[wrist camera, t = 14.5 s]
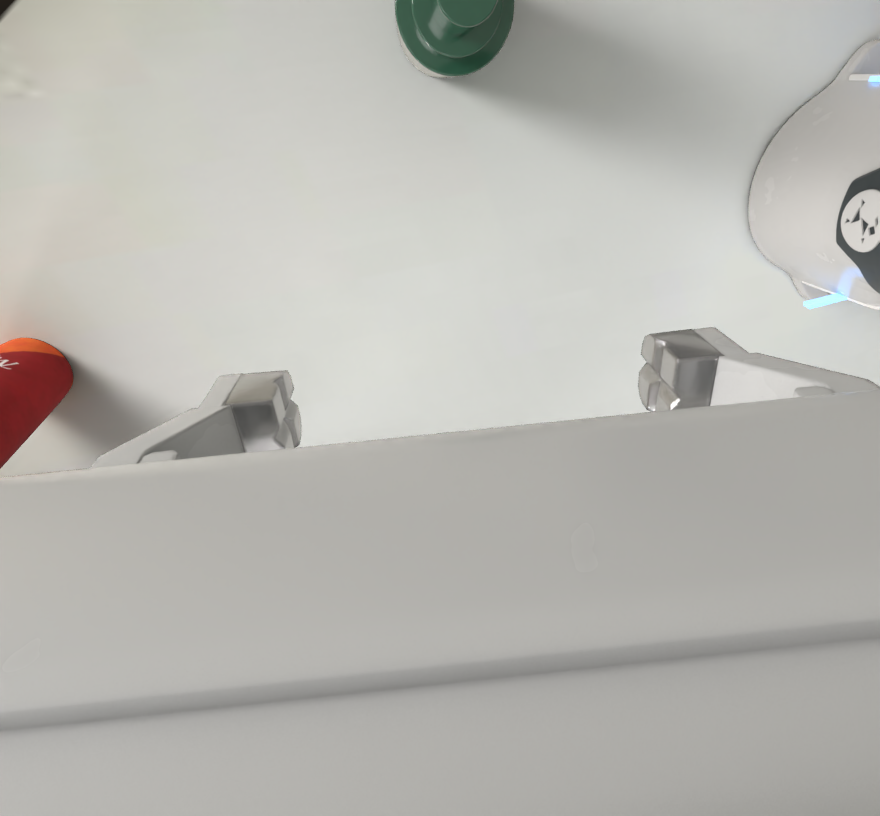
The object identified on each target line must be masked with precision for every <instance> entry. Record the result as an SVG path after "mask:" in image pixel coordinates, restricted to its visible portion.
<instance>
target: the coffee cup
mask: <svg viewBox="0 0 880 816" xmlns="http://www.w3.org/2000/svg"><path fill="white" fill-rule="evenodd" d="M72 384H73V372H72V369H71V366H70V364H69V362H68V361H67V359H66V358H65V357H64V356H63V355H62V354H61V353H60V352H59V351H58V350H57V349H55V348H54V347H53V346H51V345H49V344H47V343H45V342H43V341H40V340H37V339H32V338H17V339H14V340H11V341H8V342H6V343H4V344H2V345H0V468H1V467H2V466H3V465H4V464H5V463H6V462H7V461H8V460H9V458H10V457H11V456H12V455H13V454H14V453H15V452H16V451H17V450H18V449H19V447H20V446H21V445H22V444H23V443H24V442H25V441H26V440H27V439H28V437H29V436H30V435H31V434H32V433H33V432H34V431H35V430H36V429H37V427H38V426H39V425H40V424H41V423H42V422H43V421H44V420H45V419H46V417H47V416H48V415H49V414H50V413H51V412H52V411H53V410H54V408H55V407H56V406H57V405H58V404H59V403H60V401H61V400H62V399H63V398H64V397H65V395H66V394H67V393H68V392H69V390H70V388H71V386H72Z"/></svg>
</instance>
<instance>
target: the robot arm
mask: <svg viewBox="0 0 880 816" xmlns="http://www.w3.org/2000/svg"><path fill="white" fill-rule="evenodd" d="M748 218H749V226H750V230H751V234H752V237H753V239H754V242H755V244H756V245H757V247H758V249H759V250H760V252H761V253H762V254H763V255H764V257H765V258H766V259H768V260H769V261H770V262H771V263H772V264H774V265H775V266H777V267H779V268H780V269H782V270H783V271H785V272H786V273H788V274H789V275H790V276H791V278H792V280H793V283H794V285H795V287H796V289H797V290H798V292H799V293H800V295H801V296H802V297H803V298H805V299H808V300H809V301H805V302H804V306H805V307H807V308H809V309H812V308H816V307H820V306H823V305H827V304H831V303H835V302H839V301H843V300H849V301H852V302H855V303H858V304H861V305H863V306H866V307H869V308H872V309H880V40H871V41H868V42H866V43H865V44H863V45H862V46H861V47H860V48H859V49H858V50H857V51H856V52H855V53H854V54H853V56H852V57H851V58H850V59H849V61H848V62H847V63H846V65H845V66H844V67H843V69H842V70H841V71H840V73H839V74H838V76H837V77H836V78H835V80H834V81H833V82H832V83H831V84H830V85H829V86H828V87H827V88H825V89H824V90H823V91H822V92H820V93H819V94H818V95H816V96H815V97H814V98H812V99H811V100H810V101H808V102H807V103H806V104H805V105H803V106H802V107H801V108H800V109H799V110H798V111H797V112H796V113H794V114H793V115H792V116H791V117H790V118H789V120H788V121H787V122H786V123H785V124H784V125H783V126H782V127H781V129H780V130H779V131H778V132H777V134H776V135H775V136H774V138H773V139H772V141H771V142H770V144H769V146H768V147H767V149H766V150H765V152H764V154H763V156H762V158H761V160H760V162H759V164H758V167H757V169H756V172H755V175H754V178H753V181H752V185H751V189H750V194H749V202H748ZM641 355H642V356H643V358H644V359H645V361H646V362H647V363H646V364H645V365H644V367H643V368H642V369H641V370H640V372H639V380H638V388H639V395H640V398H641V401H642V404H643V405H644V406H645V408H646V409H647V410H649V411H651V412H645V413H635V414H625V415H615V416H605V417H596V418H586V419H576V420H566V421H556V422H546V423H536V424H526V425H516V426H506V427H496V428H486V429H477V430H467V431H457V432H447V433H437V434H427V435H417V436H407V437H397V438H387V439H377V440H368V441H358V442H348V443H338V444H328V445H318V446H308V447H298V448H295V447H297V446H298V445H299V444H300V440H301V418H300V412H299V408H298V405H296V404H295V403H294V402H293V401H292V400H291V396H292V393H293V390H294V387H293V383H292V379H291V375H290V374H289V372H288V370H285V371H273V372H261V373H248V374H242V373H240V374H231V375H223V376H219V377H218V379H217V380H216V382H215V383H214V385H213V386H212V388H211V389H210V391H209V393H208V394H207V396H206V397H205V399H204V400H203V402H202V403H201V405H200V407H199V408H194V409H190V410H188V411H186V412H184V413H182V414H180V415H179V416H177V417H175V418H173V419H171V420H169V421H167V422H165V423H163V424H161V425H159V426H157V427H155V428H153V429H151V430H149V431H148V432H146V433H144V434H142V435H140V436H138V437H136V438H134V439H132V440H130V441H128V442H126V443H124V444H122V445H120V446H118V447H116V448H115V449H113V450H111V451H109V452H107V453H105V454H103V455H101V456H99V457H98V458H97V460H96V461H95V462H94V463H93V465H92V466H91V467H90V468H88V469H78V470H68V471H58V472H48V473H38V474H28V475H18V476H8V477H0V816H880V387H879V386H878V385H876V384H875V383H873V382H871V381H870V380H868V379H864V378H859V377H855V376H851V375H847V374H843V373H839V372H835V371H830V370H826V369H822V368H818V367H814V366H810V365H805V364H801V363H797V362H793V361H789V360H785V359H781V358H776V357H772V356H768V355H764V354H760V353H748V352H747V351H746V350H744V349H743V348H742V347H740V346H739V345H738V344H736V343H735V342H734V341H732V340H731V339H730V338H728V337H727V336H726V335H724V334H723V333H722V332H720V331H719V330H718V329H716V328H714V327H708V328H700V329H693V330H692V329H687V330H679V331H671V332H662V333H654V334H649V335H647V336H645V337H644V340H643V343H642V350H641Z"/></svg>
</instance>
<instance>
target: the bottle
mask: <svg viewBox="0 0 880 816" xmlns="http://www.w3.org/2000/svg"><path fill="white" fill-rule="evenodd" d="M513 14H514V0H395V15H396V23H397V31H398V37H399V41H400V45H401V47H402V50H403V52H404V54H405V55H406V57H407V59H408V60H409V61H410V63H411V64H412V65H413V66H414V67H415V68H417V69H418V70H419V71H420V72H422V73H424V74H426V75H428V76H431V77H435V78H451V77H458V76H464V75H468V74H471V73H474V72H476V71H478V70H480V69H481V68H483V67H484V66H486V65H487V64H488V63H489V62H490V61H491V60H493V59H494V57H495V56H496V55H497V54H498V53H499V51H500V50H501V48H502V47H503V45H504V43H505V41H506V39H507V37H508V34H509V31H510V29H511V25H512V21H513Z"/></svg>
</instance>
